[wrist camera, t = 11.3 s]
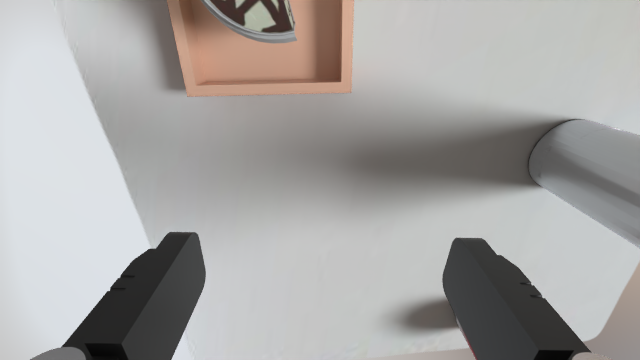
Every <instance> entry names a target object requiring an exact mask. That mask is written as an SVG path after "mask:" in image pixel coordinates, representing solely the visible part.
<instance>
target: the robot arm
mask: <svg viewBox="0 0 640 360" xmlns="http://www.w3.org/2000/svg"><path fill="white" fill-rule="evenodd" d="M529 172H530V175H531V177H532V179H533V180H534V181H535V182H536V183H538V184H539V185H540V186H542V187H544V188H545V189H547V190H548V191H550V192H552V193H553V194H555V195H556V196H558V197H559V198H561V199H562V200H564V201H566V202H567V203H569V204H570V205H572V206H573V207H575V208H577V209H578V210H580V211H581V212H583V213H585V214H586V215H588V216H589V217H591V218H593V219H594V220H596V221H597V222H599V223H601V224H602V225H604V226H605V227H607V228H609V229H610V230H612V231H613V232H615V233H616V234H618V235H620V236H621V237H623V238H624V239H626V240H628V241H629V242H631V243H632V244H634V245H636V246H637V247H639V248H640V135H637V134H633V133H630V132H627V131H623V130H620V129H617V128H613V127H610V126H606V125H603V124H599V123H596V122H592V121H588V120H572V121H568V122H565V123H563V124H560V125H558V126H557V127H555V128H553V129H552V130H550V131H549V132H548V133H547V134H545V135H544V136H543V137H542V138H541V140H540V141H539V142H538V143H537V145H536V146H535V148H534V149H533V151H532V154H531V156H530V160H529ZM205 277H206V271H205V265H204V260H203V255H202V250H201V246H200V241H199V237H198V235H197V233H195V232H170V233H168V234H167V235H166V236H165V237H164V239H163V240H162V241H161V243H160V244H159V245H158V247H157V248H156V249H148V250H147V251H146V252H144V253H143V254H141V255H140V256H139V257H138V258H136V259H134V260H133V261H132V262H131V263H130V265H129V266H128V267H127V268H126V269H125V271H124V272H123V273H122V274H121V277H120V278H118V279H117V280H116V282H115V283H114V284H113V285H112V286H111V289H110V291H107V293H106V294H105V295H104V296H103V298H102V299H101V300H100V301H99V302H98V304H97V305H96V306H95V307H94V308H93V310H92V311H91V312H90V313H89V314H88V316H87V317H86V318H85V319H84V321H83V322H82V323H81V324H80V325H79V327H78V328H77V329H76V330H75V332H74V333H73V334H72V335H71V336H70V338H69V339H68V340H67V342H65V344H64V345H63V346H62V347H61V348H56V349H53V350H49V351H47V352H44V353H42V354H40V355H38V356H36V357H34V358H32V359H30V360H171V359H172V357H173V355H174V352H175V350H176V348H177V346H178V343H179V341H180V339H181V337H182V335H183V332H184V330H185V328H186V326H187V324H188V321H189V319H190V317H191V315H192V313H193V310H194V308H195V306H196V304H197V301H198V299H199V297H200V295H201V293H202V290H203V287H204V284H205ZM443 288H444V292H445V295H446V297H447V299H448V301H449V303H450V305H451V307H452V309H453V311H454V313H455V315H456V317H457V319H458V321H459V323H460V325H461V327H462V329H463V331H464V333H465V335H466V337H467V339H468V342H469V344H470V346H471V348H472V350H473V352H474V354H475V356H476V358H477V360H612V359H610V358H608V357H605V356H602V355H599V354H595V353H592V352H591V351H590V350H589V349H588V348H587V347H586V346H585V345H584V343H583V342H582V341H581V340H580V339H579V338H578V336H577V335H576V334H575V333H574V332H573V331H572V329H571V328H570V327H569V326H568V325H567V324H566V322H565V321H564V320H563V319H562V318H561V317H560V315H559V314H558V313H557V312H556V311H555V310H554V308H553V307H552V306H551V305H550V304H549V303H548V302H547V300H546V299H545V298H542V295H541V293H540V292H539V291H538V290H537V289H536V288H535V286H532V285H531V282H530V281H529V279H528V278H527V277H526V276H525V275H524V274H523V272H522V271H521V270H520V269H519V268H518V267H517V266H515V265H514V264H512V263H511V262H510V261H508V260H507V259H505V258H504V257H503V256H501V255H497V254H496V253H495V252H494V251H493V250H492V248H491V247H490V246H489V245H488V243H487V242H486V241H485V240H484V239H482V238H455V239H454V240H453V242H452V245H451V249H450V252H449V255H448V259H447V262H446V266H445V269H444V272H443Z"/></svg>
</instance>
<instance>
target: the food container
mask: <svg viewBox="0 0 640 360" xmlns="http://www.w3.org/2000/svg"><path fill="white" fill-rule="evenodd" d="M201 2H202V3H203V4H204V5H205V7H206V8H207V9H208V10H209V11H210V13H211V14H212V15H214V16H215V17H216V18H217V19H218V20H219V21H220V22H221V23H222V24H224V25H225V26H227V27H228V28H230V29H231V30H232V31H234V32H236V33H238V34H240V35H242V36H244V37H246V38H249V39H252V40H255V41H259V42H265V43H272V44H275V43H288V42H293V41H297V38H296V36H295V33H294V32H295V26H296V23H295V20H294V16H293V12H292V9H291V5H290V1H289V0H201Z"/></svg>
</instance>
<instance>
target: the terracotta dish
mask: <svg viewBox="0 0 640 360" xmlns="http://www.w3.org/2000/svg"><path fill="white" fill-rule="evenodd" d="M289 1H290V5H291V9H292V12H293V16H294V20H295V23H296V26H295V32H294V33H295V36H296V38H297V41H293V42H288V43H275V44H272V43H265V42H259V41H255V40H252V39H249V38H246V37H244V36H242V35H240V34H238V33H236V32H234V31H232V30H231V29H230V28H228V27H227V26H225V25H224V24H222V23H221V22H220V21H219V20H218V19H217V18H216V17H215V16H214V15H212V14H211V13H210V11H209V10H208V9H207V8H206V7H205V5H204V4H203V3H202V2H201V0H167V4H168V8H169V13H170V18H171V22H172V27H173V31H174V36H175V41H176V45H177V50H178V55H179V59H180V64H181V69H182V73H183V78H184V83H185V87H186V92H187V96H188V97H194V96H233V95H273V94H313V93H351V88H352V52H353V17H354V0H289Z"/></svg>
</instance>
